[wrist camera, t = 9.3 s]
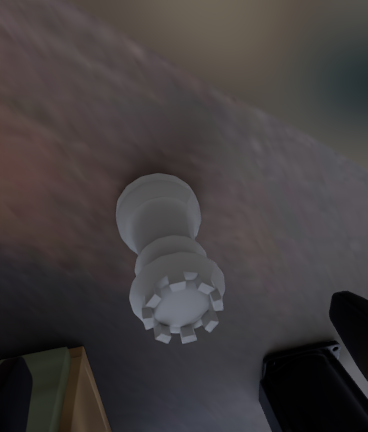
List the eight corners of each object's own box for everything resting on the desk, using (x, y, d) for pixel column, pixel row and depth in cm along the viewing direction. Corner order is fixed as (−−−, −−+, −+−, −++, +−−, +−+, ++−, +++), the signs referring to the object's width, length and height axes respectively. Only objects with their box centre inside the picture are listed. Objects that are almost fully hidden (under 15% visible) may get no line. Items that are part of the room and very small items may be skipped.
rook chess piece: (157, 152, 15) (188, 221, 8) (212, 207, 17) (279, 304, 9) (97, 211, 15) (75, 326, 8) (157, 258, 17) (180, 383, 10)
